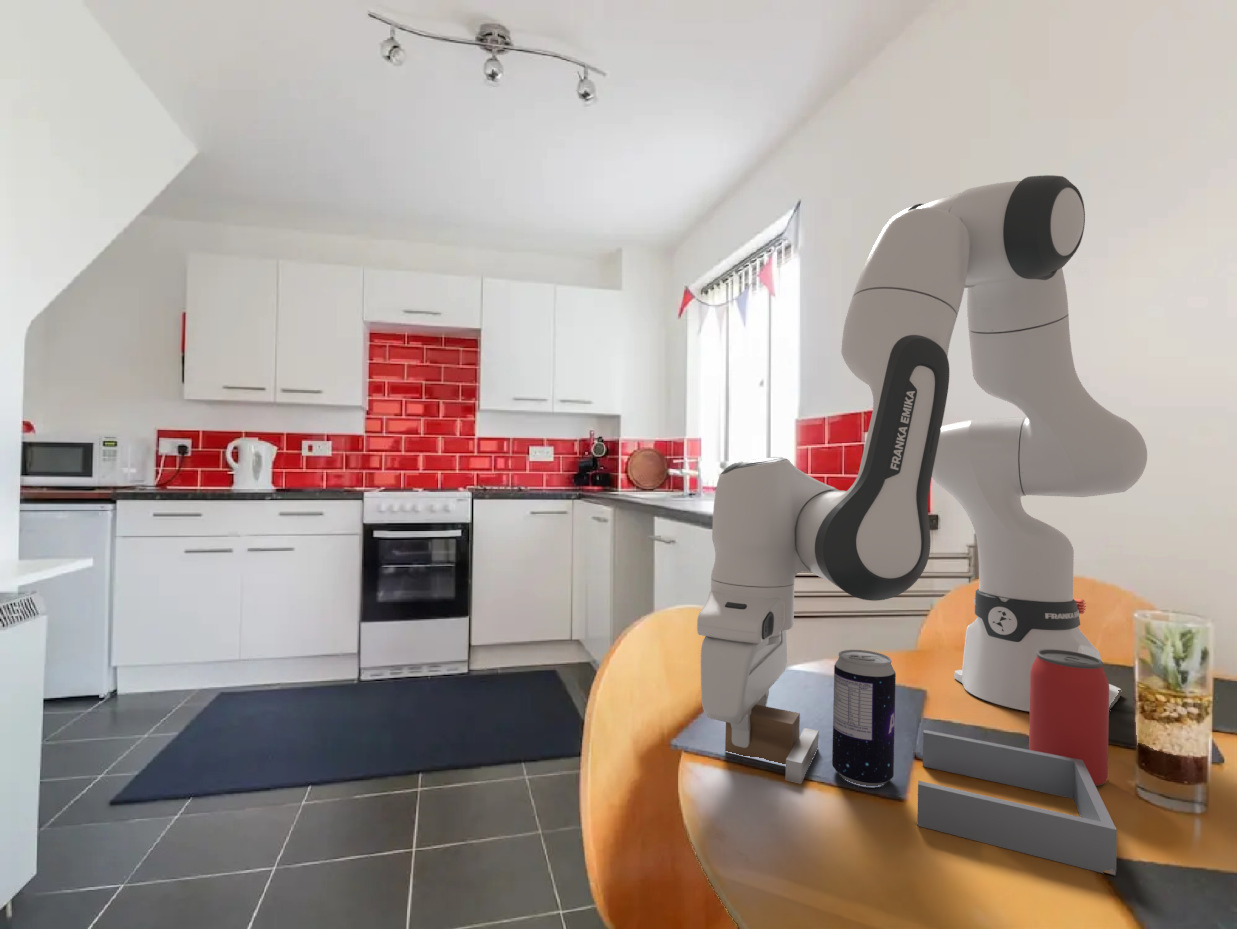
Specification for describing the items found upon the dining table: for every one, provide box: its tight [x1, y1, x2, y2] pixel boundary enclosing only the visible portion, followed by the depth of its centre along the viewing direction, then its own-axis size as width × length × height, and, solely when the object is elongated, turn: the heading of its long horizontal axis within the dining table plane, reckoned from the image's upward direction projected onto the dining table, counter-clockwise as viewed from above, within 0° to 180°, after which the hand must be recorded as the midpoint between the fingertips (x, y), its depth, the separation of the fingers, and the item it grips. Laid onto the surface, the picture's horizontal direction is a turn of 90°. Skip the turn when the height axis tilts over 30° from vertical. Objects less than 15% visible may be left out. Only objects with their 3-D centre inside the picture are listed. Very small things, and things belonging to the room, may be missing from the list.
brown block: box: [724, 705, 819, 785], centre depth 67 cm, size 9×8×4 cm
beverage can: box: [831, 649, 897, 786], centre depth 62 cm, size 6×6×12 cm
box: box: [916, 729, 1118, 874], centre depth 57 cm, size 14×14×4 cm
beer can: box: [1028, 649, 1110, 787], centre depth 64 cm, size 7×7×12 cm
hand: (748, 735), depth 68 cm, fingers closed on brown block, 3 cm apart
